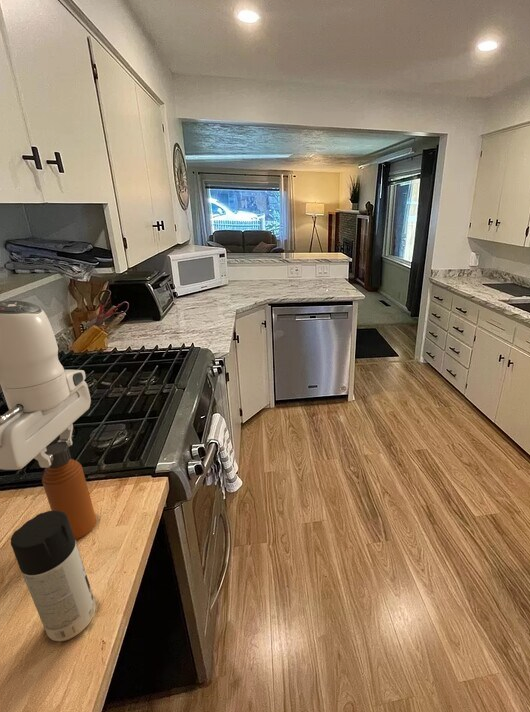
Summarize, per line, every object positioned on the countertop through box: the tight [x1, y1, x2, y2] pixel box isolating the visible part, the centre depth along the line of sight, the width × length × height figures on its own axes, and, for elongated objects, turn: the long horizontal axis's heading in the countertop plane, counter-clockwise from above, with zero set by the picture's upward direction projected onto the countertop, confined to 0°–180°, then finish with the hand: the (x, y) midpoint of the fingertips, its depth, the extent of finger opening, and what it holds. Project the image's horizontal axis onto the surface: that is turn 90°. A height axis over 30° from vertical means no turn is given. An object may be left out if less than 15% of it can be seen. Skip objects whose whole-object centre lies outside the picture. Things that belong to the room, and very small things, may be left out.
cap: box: [44, 442, 72, 468], centre depth 68 cm, size 4×4×3 cm
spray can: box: [10, 510, 96, 642], centre depth 54 cm, size 7×7×20 cm
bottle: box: [41, 458, 97, 541], centre depth 71 cm, size 6×6×19 cm
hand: (57, 455), depth 68 cm, fingers closed on cap, 4 cm apart
